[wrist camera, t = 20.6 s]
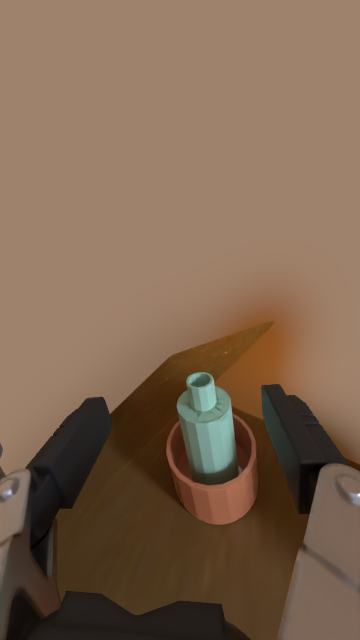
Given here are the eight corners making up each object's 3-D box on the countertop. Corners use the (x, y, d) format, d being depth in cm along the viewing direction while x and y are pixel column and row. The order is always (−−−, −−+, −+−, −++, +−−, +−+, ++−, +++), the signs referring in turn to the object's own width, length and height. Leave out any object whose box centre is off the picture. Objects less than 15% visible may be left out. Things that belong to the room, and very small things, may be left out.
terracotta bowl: (214, 555, 19) (206, 519, 17) (159, 468, 28) (151, 439, 26) (276, 475, 24) (275, 442, 23) (214, 424, 33) (210, 397, 32)
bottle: (214, 510, 22) (195, 409, 18) (182, 467, 27) (162, 381, 23) (248, 471, 25) (240, 378, 21) (214, 439, 30) (202, 359, 26)
